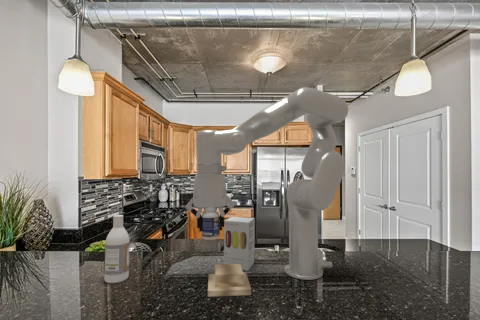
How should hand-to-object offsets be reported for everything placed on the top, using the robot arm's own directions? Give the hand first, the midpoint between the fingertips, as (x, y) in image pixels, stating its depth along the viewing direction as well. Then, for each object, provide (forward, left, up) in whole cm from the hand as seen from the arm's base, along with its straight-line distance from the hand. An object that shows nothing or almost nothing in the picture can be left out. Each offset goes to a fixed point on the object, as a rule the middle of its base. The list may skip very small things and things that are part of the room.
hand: (210, 229), depth 77 cm
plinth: (-5, +1, -17) cm, 17 cm away
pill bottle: (0, 0, -3) cm, 3 cm away
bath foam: (+30, -7, -17) cm, 35 cm away
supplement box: (-10, -16, -17) cm, 25 cm away
